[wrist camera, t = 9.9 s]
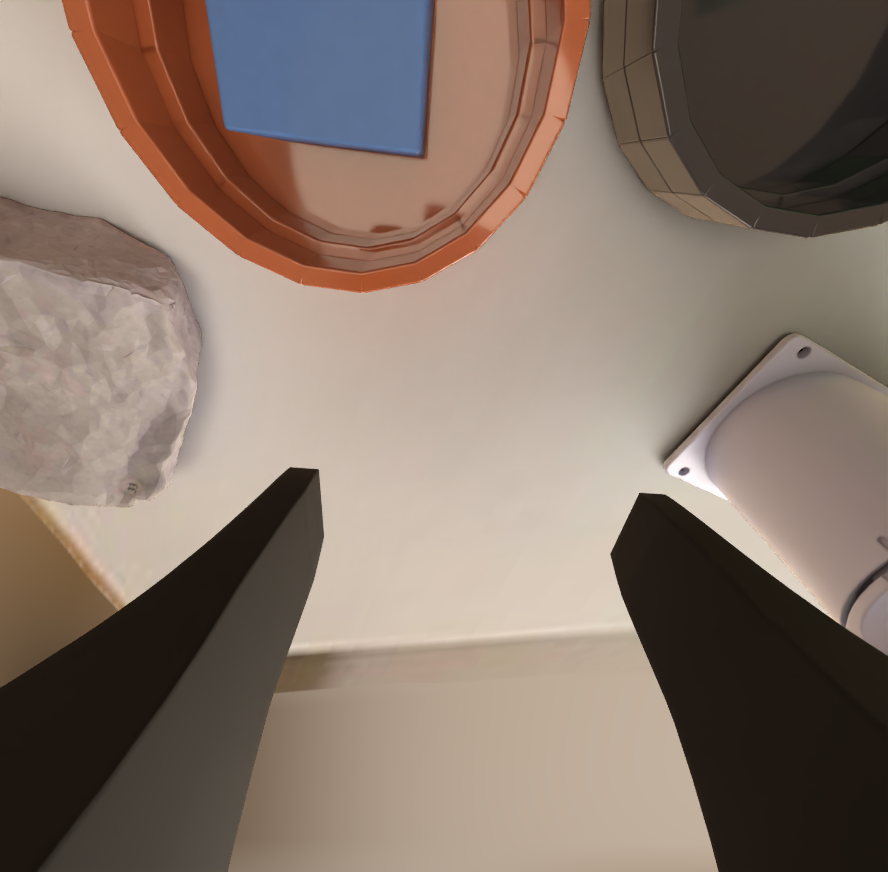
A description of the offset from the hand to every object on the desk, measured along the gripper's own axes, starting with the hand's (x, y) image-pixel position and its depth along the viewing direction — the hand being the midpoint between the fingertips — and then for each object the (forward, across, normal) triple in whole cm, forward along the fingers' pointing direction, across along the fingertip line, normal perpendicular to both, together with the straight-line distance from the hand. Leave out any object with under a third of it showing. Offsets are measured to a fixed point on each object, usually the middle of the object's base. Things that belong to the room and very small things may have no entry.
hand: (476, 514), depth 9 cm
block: (+9, +4, -9) cm, 14 cm away
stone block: (+10, +16, +2) cm, 19 cm away
